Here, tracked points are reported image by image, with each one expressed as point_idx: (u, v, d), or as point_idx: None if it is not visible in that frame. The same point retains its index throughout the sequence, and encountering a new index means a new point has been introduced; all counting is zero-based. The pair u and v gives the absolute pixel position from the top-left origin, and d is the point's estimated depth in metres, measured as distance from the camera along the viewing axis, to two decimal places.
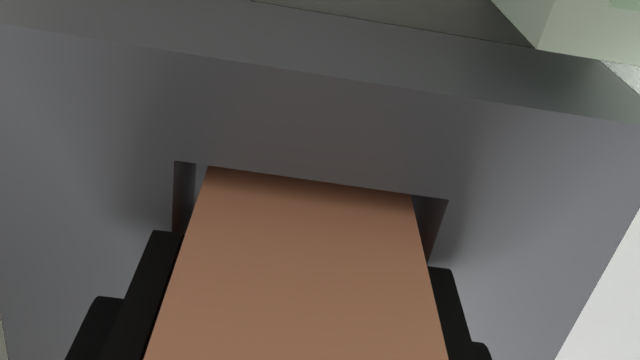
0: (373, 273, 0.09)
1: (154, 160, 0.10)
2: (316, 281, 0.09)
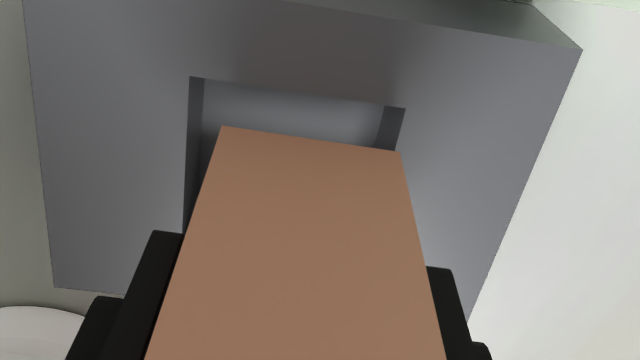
0: (372, 271, 0.09)
1: (174, 75, 0.13)
2: (315, 280, 0.09)
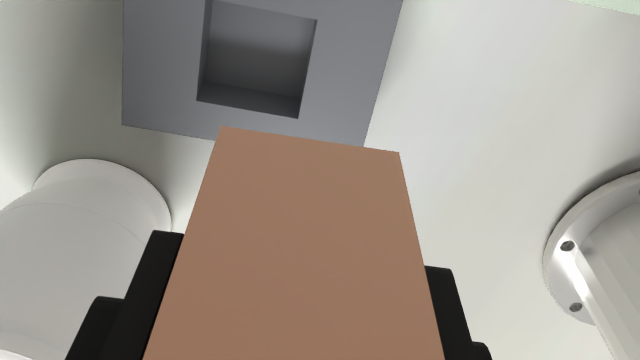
0: (370, 272, 0.09)
1: None
2: (314, 281, 0.09)
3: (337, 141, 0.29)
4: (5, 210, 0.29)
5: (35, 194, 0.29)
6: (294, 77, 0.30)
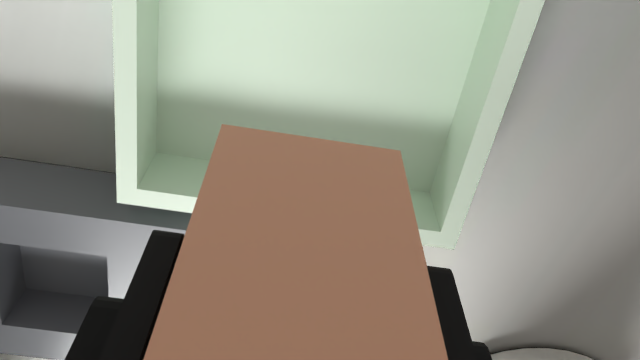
0: (372, 270, 0.09)
1: None
2: (316, 279, 0.09)
3: None
4: None
5: None
6: None
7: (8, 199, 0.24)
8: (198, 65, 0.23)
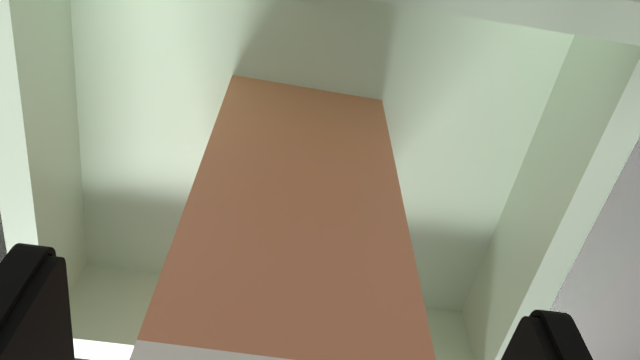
0: (354, 178, 0.12)
1: None
2: (309, 181, 0.11)
3: None
4: None
5: None
6: None
7: None
8: (138, 155, 0.16)
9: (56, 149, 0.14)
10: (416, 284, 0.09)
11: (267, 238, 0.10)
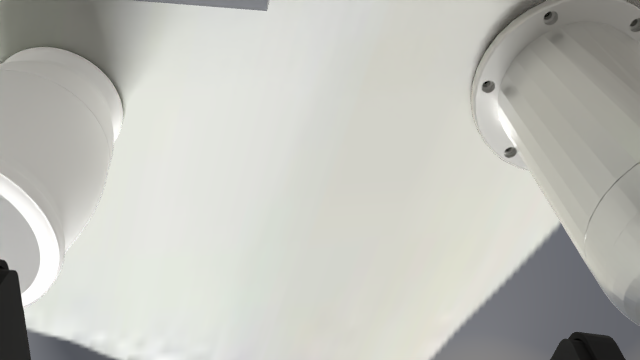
0: None
1: None
2: None
3: None
4: None
5: None
6: None
7: None
8: None
9: None
10: None
11: None
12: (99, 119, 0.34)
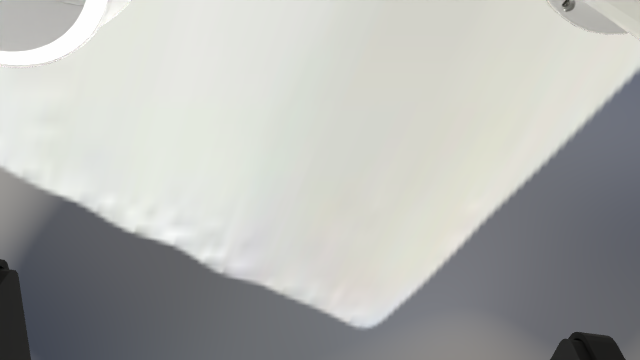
0: None
1: None
2: None
3: None
4: None
5: None
6: None
7: None
8: None
9: None
10: None
11: None
12: None
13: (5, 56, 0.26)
